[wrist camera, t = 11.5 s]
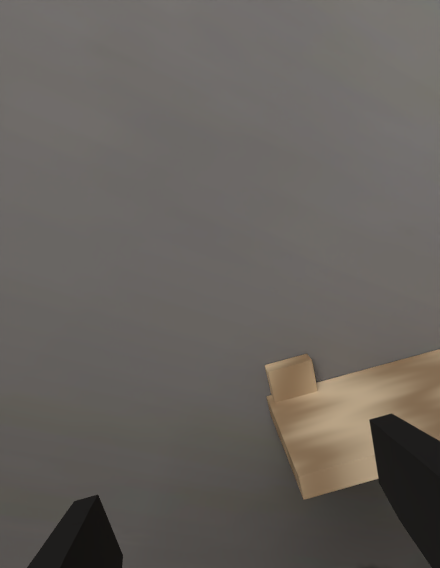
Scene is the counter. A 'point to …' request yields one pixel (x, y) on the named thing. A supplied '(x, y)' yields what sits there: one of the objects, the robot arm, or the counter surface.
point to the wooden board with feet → (347, 415)
